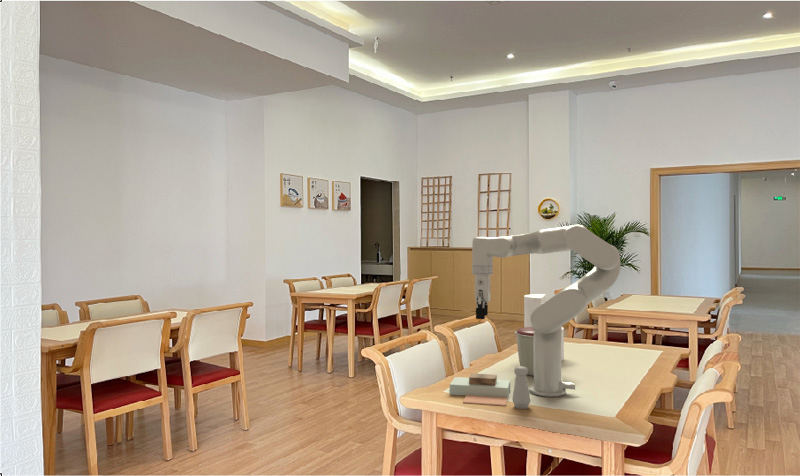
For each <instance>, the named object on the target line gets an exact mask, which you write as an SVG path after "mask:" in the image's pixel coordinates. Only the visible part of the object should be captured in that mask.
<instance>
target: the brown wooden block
mask: <svg viewBox="0 0 800 476" xmlns="http://www.w3.org/2000/svg"><path fill="white" fill-rule="evenodd" d="M497 377H498V375H497V374H493V373H491V374H489V373H470V375H469V377H468V378H469V384H474V385H490V386H495V385H496V382H497V379H498V378H497Z"/></svg>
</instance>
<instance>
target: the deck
mask: <svg viewBox="0 0 800 476" xmlns="http://www.w3.org/2000/svg"><path fill="white" fill-rule="evenodd" d="M510 393H511V380H510V379H498V378H497V382H496V385H495V386H490V385H474V384H469V377H464V376H463V377H462V376H454V377H453V379H452V381H451V382H450V384H449V395H451V396H452V395H454V396H465V397H466V395H477V396H492V397H507V398H508V399H509V395H510Z"/></svg>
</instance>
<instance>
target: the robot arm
mask: <svg viewBox="0 0 800 476" xmlns="http://www.w3.org/2000/svg"><path fill="white" fill-rule="evenodd" d="M471 251H472V253H471V260H472V261H471V274H472V276H473V275H474V299H475V302H476V305H475V306H476V307H475V319H476V320H486V319H485V318H486V316H488V310H489V309H488V308H489V306H488V303H489V302H490V301H491V297H492V296H491V295H492V294H491V276H493V275H494V274H493V273H494V264H493V263H494V257H495V258H507V257H514V256H522V255H530V254H531V255H532V254H537V255H544V254H545V255H546V254H551V253H559V252H560V253H561V252H569V251H573V252H574V253H576V254H577V255H579V256H580V257H582V258H583V259H584V260H585V261H587V262H589V263H590V264H592V265H594V266H593V268H592V269H591V270H589V271H588V272H586V274H584V275H583V276H582V277H581V278H579V279H577V280H576V281H574V282H573V283H571V284H570V285H567V286H565V287H564V288H562V289H561V291H559V292H558V293H556V294H555V295H553V296H552V297H551V298H549V299H547V300H546V302H545V303H542V304H540V305H538V306H537V307H536V308H535V309H534V311H533V312H532V314H531V325H532V327H533V328H534V376H533V385H530V386H529V387H528V389H529V393H531V394H532V395H536V396H540V397H549V398H550V397H551V398H553V397H554V398H555V397H561V396H564V395H566V394H567V390H576V384H575V383H572V382H566V381H564V380H563V378H562V361H561V332H562V327H563V326H564V325H565V324H567V323H569V322H570V321H572V320H573V319H574V318H576V317H577V316H579V315H580V314H582V313H583V312H584V310H585V308H586V306H588V305H589V304H590V303H592V302H593V301H594V300H596V299H598V298H599V297H600V296H601V295H603V294H604V293H605V292H606V291H608V290H609V289H611V287H612V286H614V284H615V282H616V281H617V280H618V278H619V274H620V272H621V256H620V255H621V254H620V252H619V250H618V248H617V247H616V246H614V245H613V244H610V243H608V241H605V240H604V239H603V238H601V237H599V236H598V235H596V234H594V233H593V232H592V231H591V230H589V229H588V228H587V227H586V226H584V225H582V224H573V225H568V226H561V227H552V228H546V229H545V228H544V229H540V230H536V231H533V232H529V233H523V234H514V235H508V236H496V237H488V236H476V237H473V238H472V246H471Z"/></svg>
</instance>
